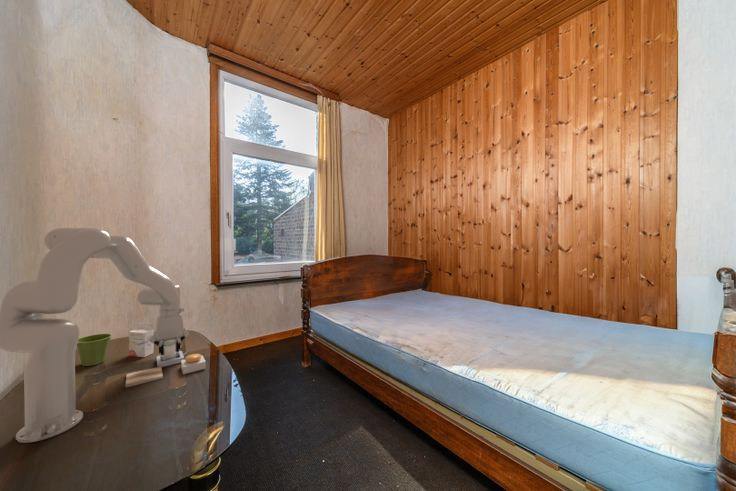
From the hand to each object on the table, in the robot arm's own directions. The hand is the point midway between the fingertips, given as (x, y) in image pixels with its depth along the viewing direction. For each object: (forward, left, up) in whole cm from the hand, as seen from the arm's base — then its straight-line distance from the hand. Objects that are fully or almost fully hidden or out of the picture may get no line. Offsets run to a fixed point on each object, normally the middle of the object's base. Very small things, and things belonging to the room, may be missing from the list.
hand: (169, 352), depth 121 cm
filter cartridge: (0, 0, -3) cm, 3 cm away
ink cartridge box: (+17, +10, -4) cm, 20 cm away
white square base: (-14, -7, -4) cm, 16 cm away
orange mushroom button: (-14, -7, -3) cm, 16 cm away
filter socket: (0, 0, -4) cm, 4 cm away
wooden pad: (-11, +9, -4) cm, 14 cm away
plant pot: (+19, +26, -4) cm, 32 cm away
